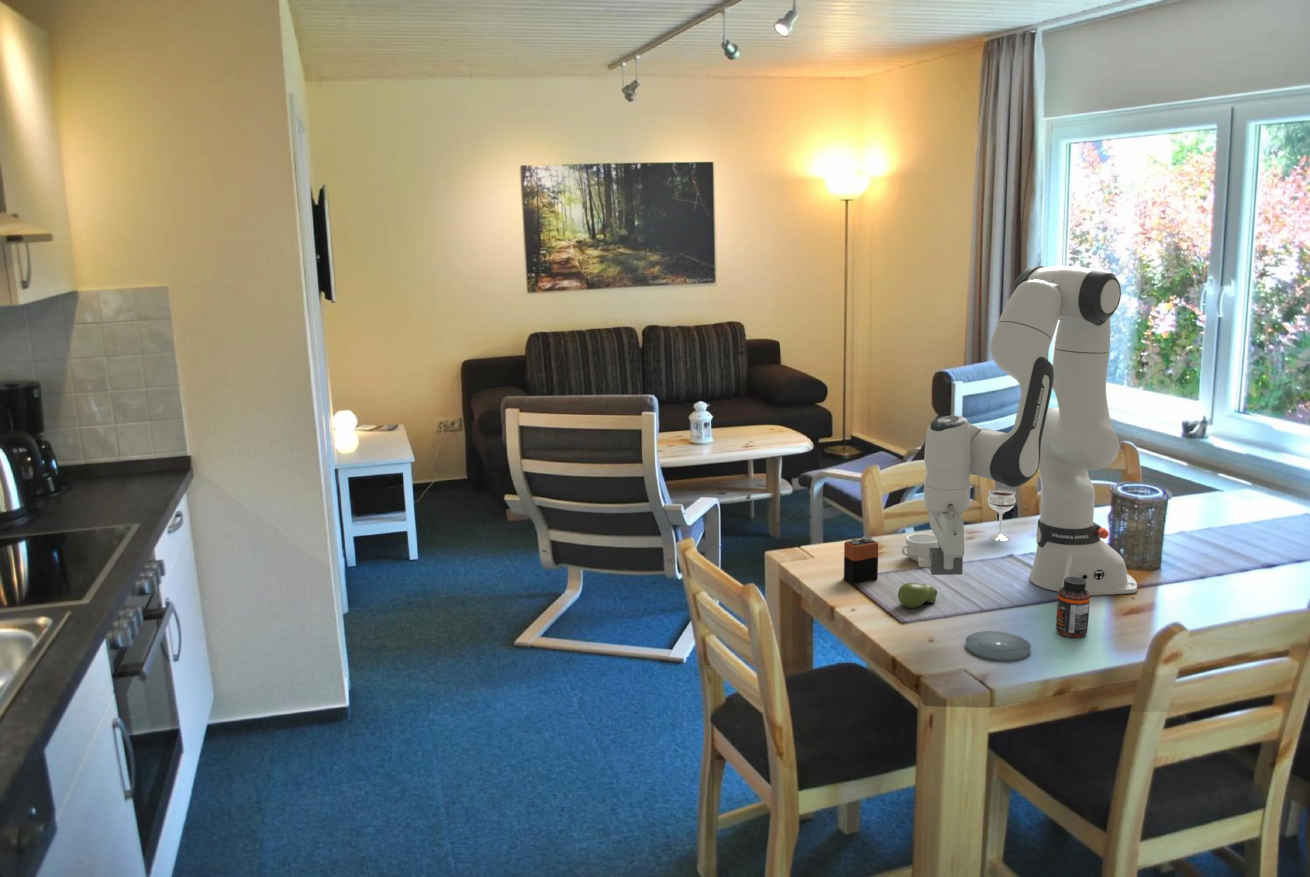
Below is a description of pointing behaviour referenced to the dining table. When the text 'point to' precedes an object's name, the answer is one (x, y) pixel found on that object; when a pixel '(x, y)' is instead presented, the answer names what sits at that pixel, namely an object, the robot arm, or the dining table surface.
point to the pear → (916, 594)
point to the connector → (940, 563)
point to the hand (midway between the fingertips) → (945, 563)
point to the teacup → (919, 545)
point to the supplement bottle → (1073, 608)
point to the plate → (998, 646)
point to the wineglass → (1001, 506)
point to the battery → (861, 560)
